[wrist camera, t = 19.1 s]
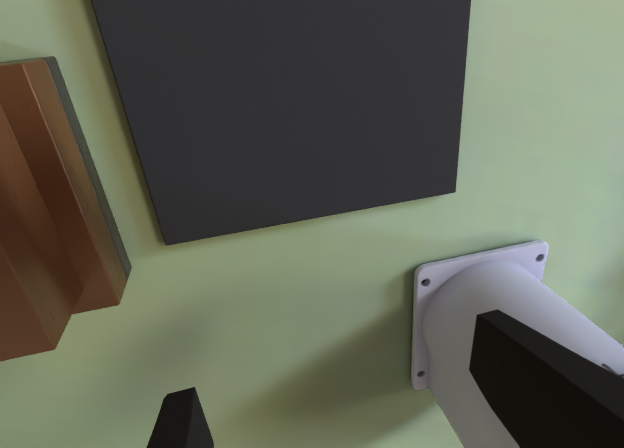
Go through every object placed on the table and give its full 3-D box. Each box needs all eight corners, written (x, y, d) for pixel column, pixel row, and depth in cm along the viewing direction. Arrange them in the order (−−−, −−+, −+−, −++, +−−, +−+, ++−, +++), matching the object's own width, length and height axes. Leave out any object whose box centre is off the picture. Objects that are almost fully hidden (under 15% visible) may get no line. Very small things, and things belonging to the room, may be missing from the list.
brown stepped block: (132, 267, 18) (100, 365, 13) (26, 287, 18) (-53, 399, 12) (55, 55, 14) (-37, 75, 9) (-88, 71, 14) (-278, 103, 8)
